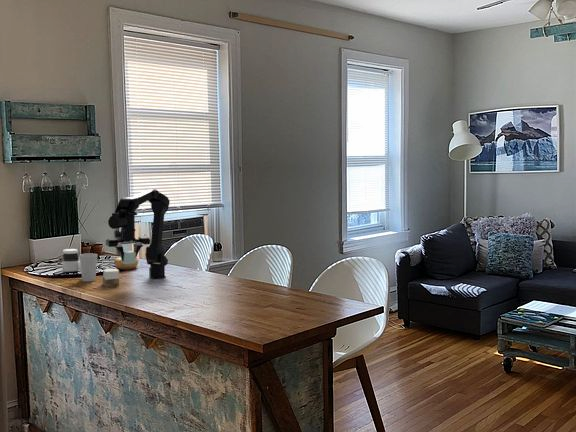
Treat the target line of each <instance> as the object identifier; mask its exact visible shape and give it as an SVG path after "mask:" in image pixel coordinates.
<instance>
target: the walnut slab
mask: <svg viewBox="0 0 576 432" xmlns="http://www.w3.org/2000/svg"><path fill="white" fill-rule="evenodd" d="M102 285H103V286H104V285H105V286H110V287H115V286H114V285H119V286H120V278H119V279H107V280H106V279H105V278H104V277H102ZM105 286H104V287H105Z"/></svg>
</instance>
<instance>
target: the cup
mask: <svg viewBox="0 0 576 432" xmlns="http://www.w3.org/2000/svg"><path fill="white" fill-rule="evenodd" d="M78 256H79V261H80V263H81V272H80V273H81V281H82V282H95V281H97V280H96V279H97V264H98V263H97V261H98V254H97V253H90V252H89V253H81V254H78Z"/></svg>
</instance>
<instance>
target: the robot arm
mask: <svg viewBox="0 0 576 432" xmlns="http://www.w3.org/2000/svg"><path fill="white" fill-rule="evenodd" d="M146 202H149V203H150V208H151V211H152V212H153V218H152V219H153V220H152V230H151V238H150V237H148V236H138V237H137V238H136V235H135V234H136V228H135V227H136V223H135V222H136V221H135V218H136V217H135V216H138V213H137V212H136V210H138V208H140V205H142V204H144V203H146ZM170 202H171V201H170V199H169V197H168V196H167V195H165V194H164V193H162V192H159V190H158V189H156V188H155V189H154V188H148V189H146V190H144V191H142V192H139V193H137V194H135V195H133V196H127V197H126V196H125V197H121V198H120V199H119V201H118V204H117V206H116V208H115V210H114V212H112V213H111V216H110V217H109V218H108V226H109V228H111V229H114V231H113V233H114V234H113V236H114V238H107V239H106V240H105V245H106V246H107V247H109V248H112V247H113V248H115V249H117V252H118V253H119V254H118V255H119V257H121V260H122V261H123V260H124V255H123V251H124V246H123V245H126V244H127V245H128V244H133V251H134V252H136V258H137V256H138V255H139V253H140V250H141V248H142V247H144V245H148V246H146V247H145V254H144V255H145V259H146V264H147V265H150V267H148V269H149V270H148V272H149V274H148V275H149V277H150V278H151V279H153V278H155V279H163V278H162V277H165V278H166V276H167V275H165V273H166V272H165V271H166V269H165V267H166V266H167V265H168V262H169V259H168V258H167V257H166V255H165V249H164V247H163V243H162V241H163V234H164V233H163V232H164V223H165V214H166V213H167V212H168V210H169V206H170V204H171V203H170ZM116 229H120V230H116Z"/></svg>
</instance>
